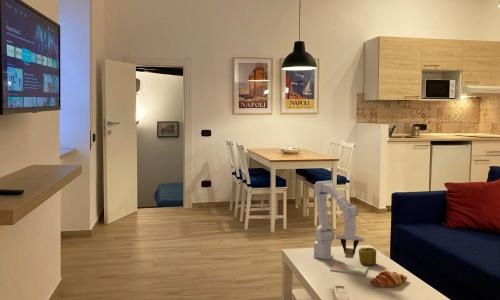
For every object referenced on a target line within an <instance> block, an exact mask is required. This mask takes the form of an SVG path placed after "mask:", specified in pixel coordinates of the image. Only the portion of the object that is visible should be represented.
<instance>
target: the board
mask: <svg viewBox="0 0 500 300" xmlns="http://www.w3.org/2000/svg"><path fill="white" fill-rule="evenodd" d="M368 270H369V266H368V267H367V266H359V265H351V264H345V263H344V264H343V263H337V262H334V263H333V265H332V267H331V268H330V272H337V273H345V274H351V275H359V276H366V275H367V272H368Z"/></svg>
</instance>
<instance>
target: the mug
mask: <svg viewBox="0 0 500 300" xmlns="http://www.w3.org/2000/svg"><path fill="white" fill-rule="evenodd" d="M358 258H359V263H360V264H361V265H362V266H373V265H376V263H377V249H376V248H374V247H364V246H363V247H361V248H359V249H358Z"/></svg>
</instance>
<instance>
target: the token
mask: <svg viewBox="0 0 500 300" xmlns="http://www.w3.org/2000/svg"><path fill="white" fill-rule="evenodd" d="M353 249H354V248H353V247H352V248H351V247H346V250H345V254H344V255H345V256H344V257H345V258H346V259H354V257H355V255H353Z"/></svg>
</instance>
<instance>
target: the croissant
mask: <svg viewBox="0 0 500 300" xmlns="http://www.w3.org/2000/svg"><path fill="white" fill-rule="evenodd" d="M407 280H408V275H407V276H406V275H404V274H402V273H401V274H400V273H398V272H397V271H393V272H391V271H389V270H381V272H379V273H378V275H376V276H375V277H373V278H372V279H371V280H370V281H369V282H370V284H371V285H373V286H377V287H380V288H393V287H394V288H395V287H397V286H399V285H401V284H403V283H405V282H406V281H407Z"/></svg>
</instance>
